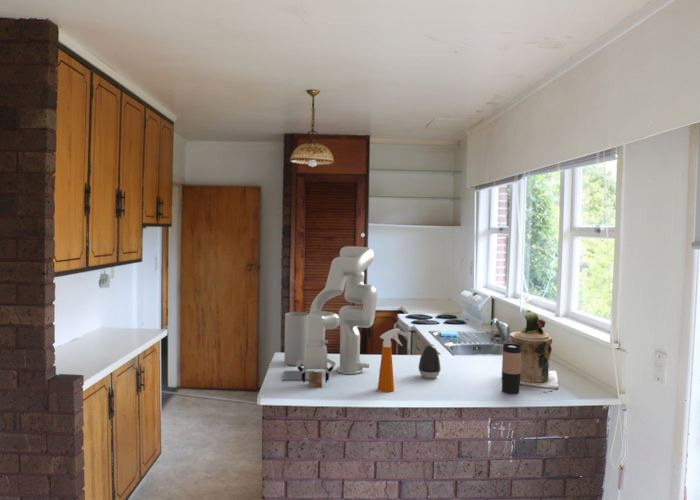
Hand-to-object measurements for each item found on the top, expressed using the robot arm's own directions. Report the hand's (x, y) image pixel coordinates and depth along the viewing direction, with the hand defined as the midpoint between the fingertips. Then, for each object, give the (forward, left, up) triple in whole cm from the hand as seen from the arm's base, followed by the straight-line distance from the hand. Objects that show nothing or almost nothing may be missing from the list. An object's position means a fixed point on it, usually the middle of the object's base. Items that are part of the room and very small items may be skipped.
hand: (315, 381), depth 225 cm
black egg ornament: (-53, -14, -2) cm, 55 cm away
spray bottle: (-32, +5, -2) cm, 33 cm away
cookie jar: (-100, -12, -2) cm, 101 cm away
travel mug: (-84, +7, -2) cm, 84 cm away
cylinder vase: (+10, -37, -2) cm, 39 cm away
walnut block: (0, 0, -2) cm, 2 cm away
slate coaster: (+8, -14, -2) cm, 16 cm away
